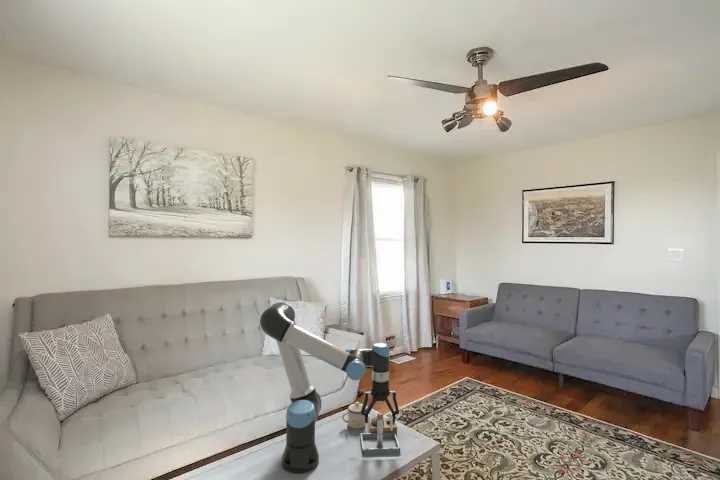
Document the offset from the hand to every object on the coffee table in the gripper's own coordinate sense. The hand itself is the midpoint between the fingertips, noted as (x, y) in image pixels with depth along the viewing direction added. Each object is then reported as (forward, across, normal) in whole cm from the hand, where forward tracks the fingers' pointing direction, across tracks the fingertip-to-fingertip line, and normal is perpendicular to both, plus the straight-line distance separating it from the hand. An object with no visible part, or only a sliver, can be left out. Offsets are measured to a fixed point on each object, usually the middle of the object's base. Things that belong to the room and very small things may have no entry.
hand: (379, 429), depth 173 cm
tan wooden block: (+8, +3, +12) cm, 14 cm away
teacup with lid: (+8, -10, +19) cm, 23 cm away
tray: (+8, 0, 0) cm, 8 cm away
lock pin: (+7, 0, 0) cm, 7 cm away
